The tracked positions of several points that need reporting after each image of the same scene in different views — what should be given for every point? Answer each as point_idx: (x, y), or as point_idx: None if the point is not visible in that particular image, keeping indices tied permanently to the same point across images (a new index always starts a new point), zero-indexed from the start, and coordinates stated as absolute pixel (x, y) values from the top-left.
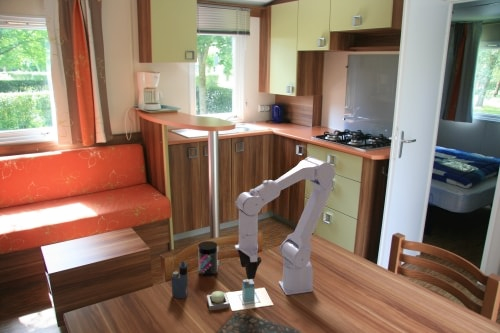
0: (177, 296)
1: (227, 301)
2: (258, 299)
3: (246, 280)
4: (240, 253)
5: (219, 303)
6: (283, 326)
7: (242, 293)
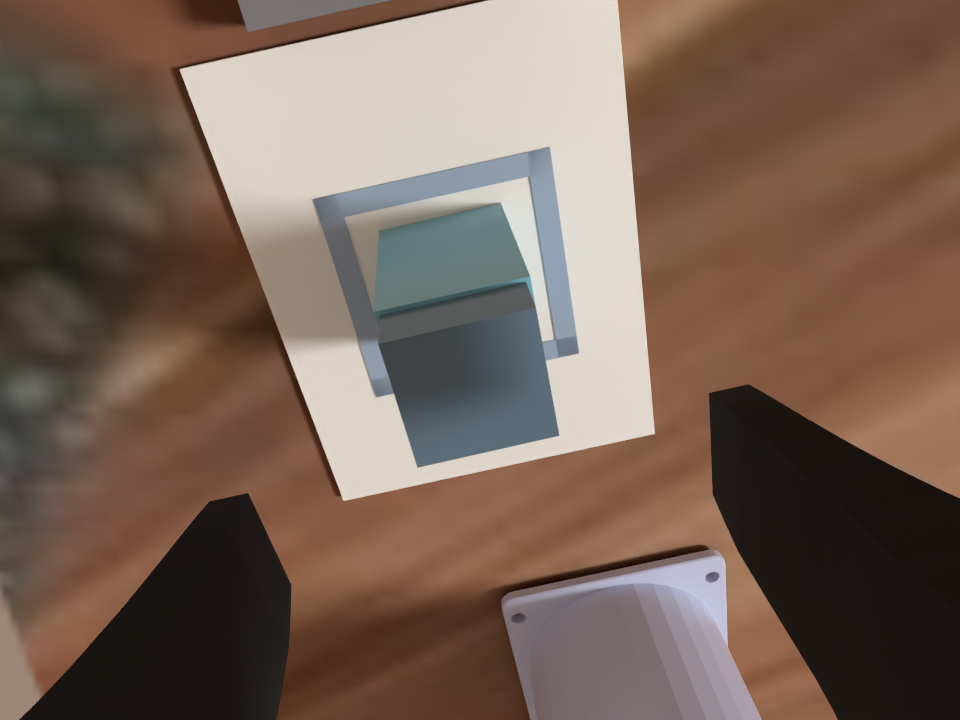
0: None
1: (295, 2)
2: None
3: (514, 364)
4: (933, 634)
5: None
6: (17, 557)
7: (493, 222)
